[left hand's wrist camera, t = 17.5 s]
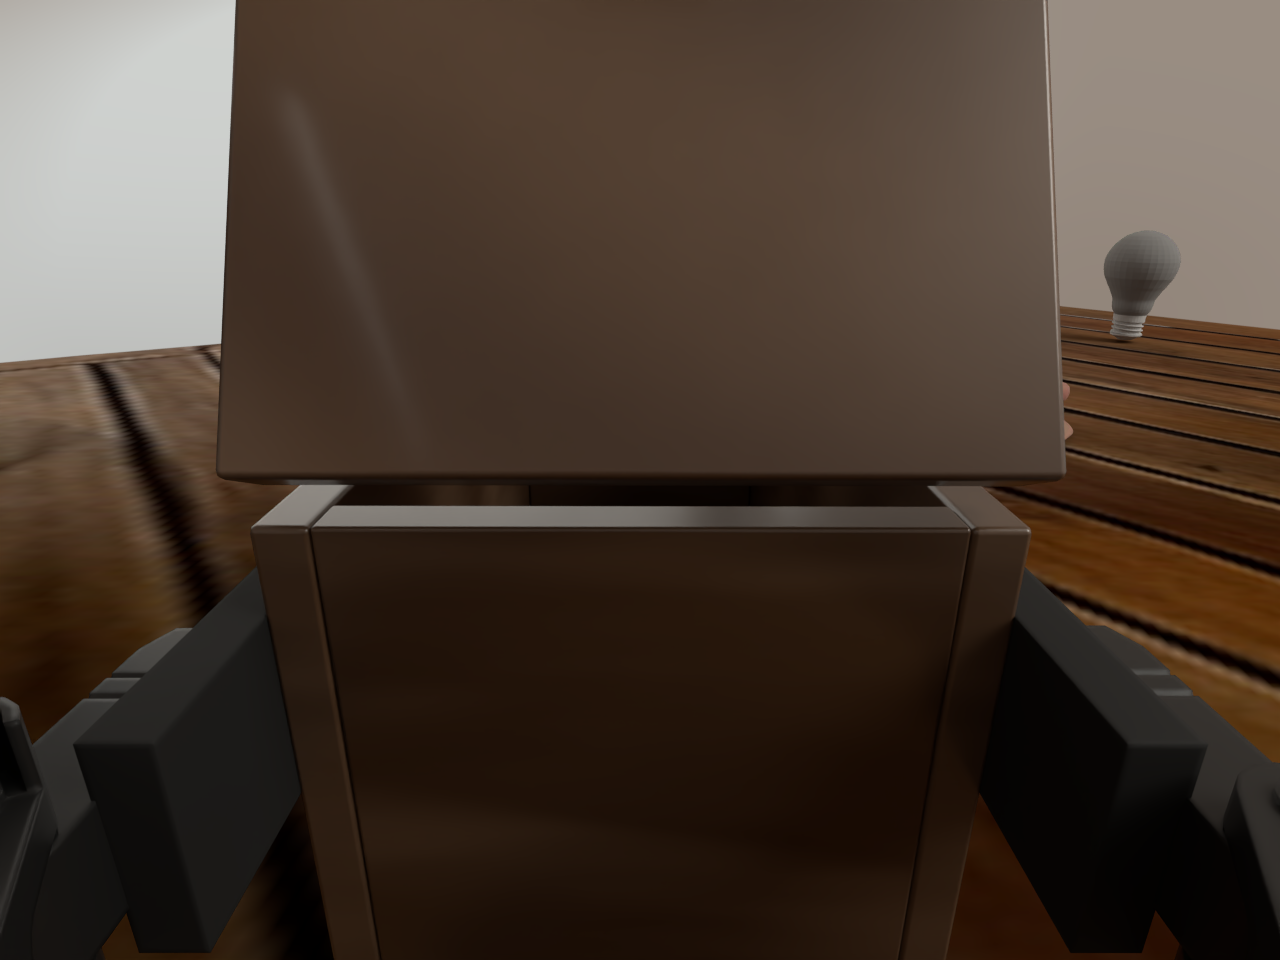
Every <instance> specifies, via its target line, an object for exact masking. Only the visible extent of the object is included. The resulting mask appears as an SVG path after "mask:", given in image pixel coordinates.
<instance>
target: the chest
mask: <svg viewBox="0 0 1280 960" xmlns="http://www.w3.org/2000/svg"><path fill="white" fill-rule="evenodd" d="M250 534H251V539H252V545H253V550H254V555H255V560H256V565H257V570H258V575H259V580H260V585H261V590H262V595H263V600H264V606H265V611H266V616H267V621H268V626H269V631H270V636H271V641H272V646H273V651H274V656H275V662H276V667H277V672H278V677H279V682H280V687H281V692H282V697H283V702H284V707H285V712H286V718H287V723H288V728H289V733H290V738H291V743H292V748H293V753H294V758H295V763H296V768H297V773H298V778H299V783H300V788H301V794H302V799H303V804H304V809H305V814H306V819H307V824H308V830H309V835H310V840H311V845H312V850H313V855H314V860H315V865H316V870H317V875H318V880H319V885H320V891H321V896H322V901H323V906H324V911H325V916H326V921H327V926H328V931H329V936H330V941H331V947H332V952H333V957H334V960H946V955H947V950H948V945H949V940H950V935H951V930H952V925H953V920H954V915H955V910H956V905H957V900H958V895H959V890H960V885H961V880H962V876H963V871H964V866H965V861H966V856H967V851H968V846H969V841H970V836H971V831H972V826H973V821H974V816H975V811H976V806H977V801H978V796H979V791H980V786H981V781H982V776H983V771H984V766H985V761H986V756H987V751H988V746H989V741H990V736H991V731H992V726H993V721H994V716H995V711H996V706H997V701H998V696H999V691H1000V686H1001V681H1002V676H1003V671H1004V666H1005V661H1006V656H1007V651H1008V646H1009V641H1010V636H1011V631H1012V626H1013V621H1014V617H1015V613H1016V608H1017V603H1018V598H1019V593H1020V588H1021V583H1022V578H1023V574H1024V569H1025V564H1026V559H1027V554H1028V549H1029V544H1030V539H1031V530H1030V528H1029V527H1028V526H1027V525H1026V524H1025V523H1023V522H1022V521H1021V520H1020V519H1019V518H1018V517H1016V516H1015V515H1014V514H1013V513H1012V512H1011V511H1009V510H1008V509H1007V508H1006V507H1005V506H1004V505H1002V504H1001V503H1000V502H999V501H998V500H997V499H995V498H994V497H993V496H992V495H991V494H990V493H988V492H987V491H986V490H985V489H984V488H983V487H981V486H599V485H300V486H299V487H297V488H296V489H295V490H294V491H293V492H292V493H291V494H289V495H288V496H287V497H286V498H285V499H284V500H282V501H281V502H280V503H279V504H278V505H277V506H275V507H274V508H273V509H272V510H271V511H270V512H268V513H267V514H266V515H265V516H264V517H263V518H261V519H260V520H259V521H258V522H257V523H256V524H254V525H253V526H252V528H251V533H250Z"/></svg>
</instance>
